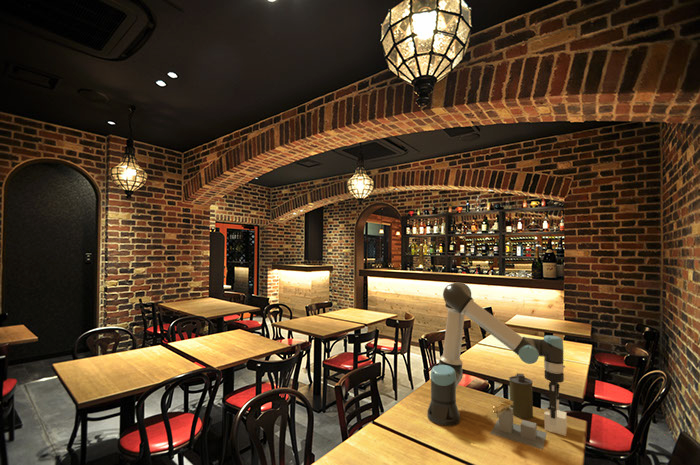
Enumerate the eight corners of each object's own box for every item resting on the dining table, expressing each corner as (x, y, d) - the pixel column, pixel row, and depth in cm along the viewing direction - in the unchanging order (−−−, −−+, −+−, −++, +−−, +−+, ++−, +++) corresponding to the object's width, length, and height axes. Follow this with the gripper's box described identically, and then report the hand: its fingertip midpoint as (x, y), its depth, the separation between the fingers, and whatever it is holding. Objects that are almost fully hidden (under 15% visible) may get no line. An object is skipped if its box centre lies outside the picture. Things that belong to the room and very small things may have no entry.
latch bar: (500, 404, 152) (500, 395, 153) (514, 408, 148) (513, 399, 149) (487, 415, 142) (487, 405, 142) (501, 419, 138) (501, 409, 138)
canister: (536, 422, 157) (535, 379, 159) (513, 419, 159) (512, 377, 161) (529, 412, 168) (528, 371, 169) (507, 409, 170) (506, 369, 172)
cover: (544, 432, 148) (544, 413, 149) (546, 425, 155) (546, 407, 155) (566, 438, 144) (565, 419, 144) (566, 430, 150) (566, 412, 151)
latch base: (490, 435, 145) (489, 412, 146) (498, 421, 158) (497, 399, 159) (542, 451, 133) (542, 426, 134) (546, 434, 146) (546, 411, 147)
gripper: (561, 381, 139) (562, 433, 138) (565, 365, 159) (565, 411, 158) (541, 376, 143) (542, 427, 142) (547, 362, 164) (547, 406, 162)
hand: (554, 419), depth 150 cm, fingers open, 13 cm apart
